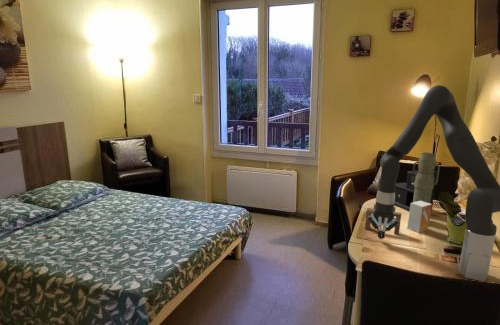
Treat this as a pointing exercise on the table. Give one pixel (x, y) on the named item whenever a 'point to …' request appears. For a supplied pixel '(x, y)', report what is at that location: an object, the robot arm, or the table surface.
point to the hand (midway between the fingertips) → (380, 238)
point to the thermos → (425, 177)
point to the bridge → (396, 214)
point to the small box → (419, 216)
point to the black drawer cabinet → (408, 192)
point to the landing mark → (382, 223)
